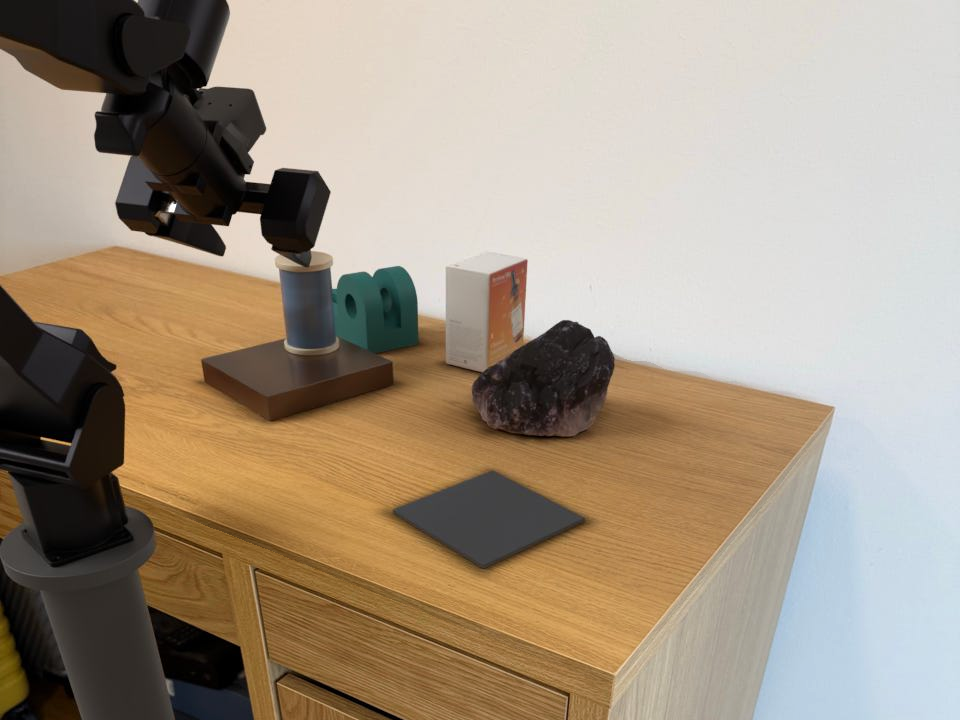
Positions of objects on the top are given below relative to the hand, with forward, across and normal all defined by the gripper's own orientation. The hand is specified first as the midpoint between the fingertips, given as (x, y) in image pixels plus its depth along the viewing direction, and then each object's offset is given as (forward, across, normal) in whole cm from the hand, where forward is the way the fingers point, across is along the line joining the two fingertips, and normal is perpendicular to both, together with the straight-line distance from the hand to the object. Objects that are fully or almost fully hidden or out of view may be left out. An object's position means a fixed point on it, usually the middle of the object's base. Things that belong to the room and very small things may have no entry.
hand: (265, 257), depth 86 cm
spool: (+12, 0, +3) cm, 13 cm away
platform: (+11, -1, +7) cm, 14 cm away
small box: (+22, -16, -3) cm, 27 cm away
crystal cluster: (+13, -27, +6) cm, 30 cm away
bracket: (+24, +2, -6) cm, 25 cm away
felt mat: (-2, -29, +21) cm, 36 cm away
